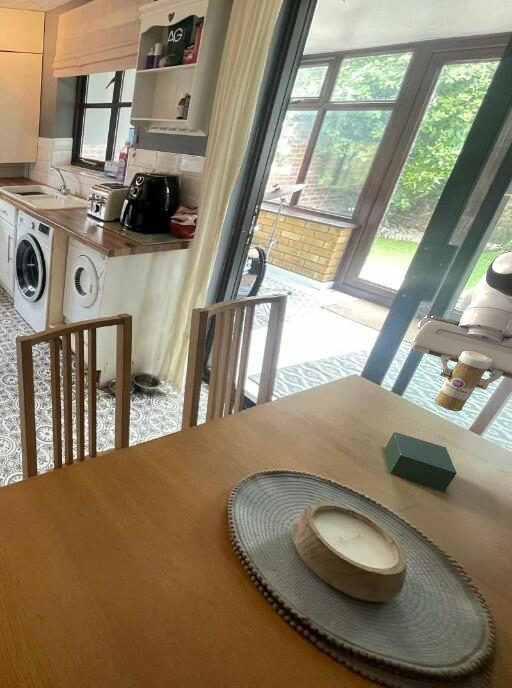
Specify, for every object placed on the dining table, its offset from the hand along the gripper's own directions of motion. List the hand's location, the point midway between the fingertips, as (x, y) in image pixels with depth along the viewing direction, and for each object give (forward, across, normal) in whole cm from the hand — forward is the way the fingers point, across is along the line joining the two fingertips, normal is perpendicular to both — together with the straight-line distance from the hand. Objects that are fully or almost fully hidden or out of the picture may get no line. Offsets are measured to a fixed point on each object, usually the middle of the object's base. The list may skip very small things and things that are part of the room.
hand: (462, 382), depth 89 cm
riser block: (+20, 0, +10) cm, 22 cm away
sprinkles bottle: (+4, 0, +6) cm, 7 cm away
